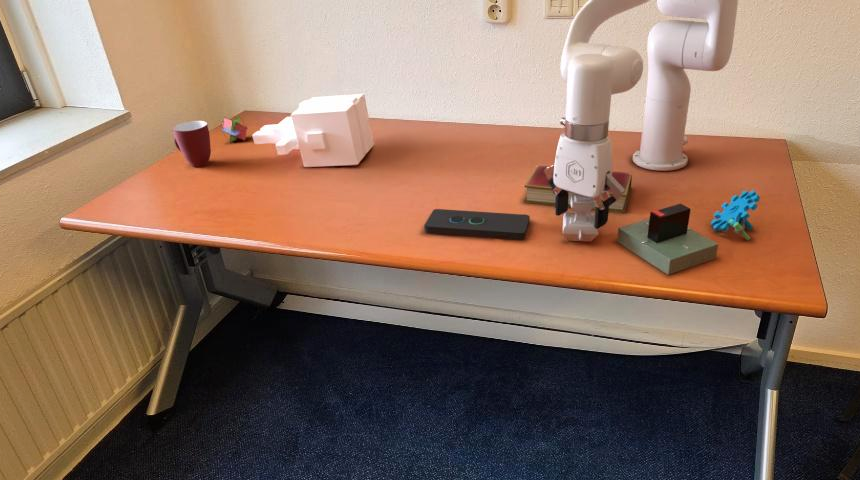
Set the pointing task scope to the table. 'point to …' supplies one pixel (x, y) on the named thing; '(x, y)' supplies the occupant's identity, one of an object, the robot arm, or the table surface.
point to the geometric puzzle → (234, 129)
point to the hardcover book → (544, 195)
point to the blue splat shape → (736, 213)
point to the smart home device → (477, 224)
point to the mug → (193, 142)
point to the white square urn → (580, 219)
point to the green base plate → (667, 247)
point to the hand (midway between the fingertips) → (580, 219)
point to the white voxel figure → (323, 131)
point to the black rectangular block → (668, 223)
